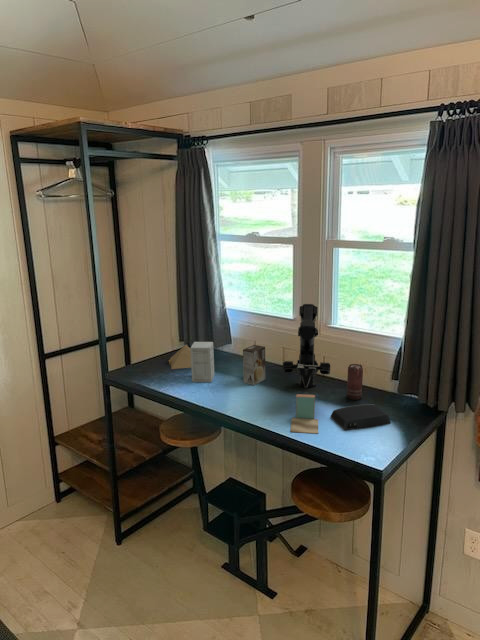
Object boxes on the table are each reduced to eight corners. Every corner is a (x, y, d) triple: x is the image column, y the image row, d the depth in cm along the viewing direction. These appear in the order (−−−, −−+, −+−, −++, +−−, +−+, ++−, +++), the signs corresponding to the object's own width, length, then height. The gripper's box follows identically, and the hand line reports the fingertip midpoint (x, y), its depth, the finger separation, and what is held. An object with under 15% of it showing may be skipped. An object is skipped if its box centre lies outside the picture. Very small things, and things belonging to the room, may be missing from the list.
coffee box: (254, 376, 233) (254, 344, 229) (265, 379, 229) (265, 346, 225) (243, 382, 226) (242, 349, 222) (254, 385, 222) (254, 351, 218)
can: (351, 401, 205) (352, 369, 201) (344, 395, 210) (345, 364, 207) (364, 399, 206) (366, 367, 202) (357, 393, 212) (358, 362, 208)
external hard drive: (329, 417, 192) (329, 407, 190) (373, 410, 196) (374, 401, 195) (344, 432, 179) (345, 422, 178) (391, 425, 184) (392, 415, 183)
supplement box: (214, 375, 235) (214, 341, 231) (211, 382, 226) (210, 347, 222) (195, 374, 236) (193, 341, 232) (191, 382, 227) (190, 347, 223)
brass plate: (291, 418, 190) (291, 417, 190) (318, 420, 188) (318, 419, 188) (290, 432, 179) (290, 431, 179) (318, 433, 178) (318, 432, 178)
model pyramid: (168, 359, 260) (167, 341, 257) (200, 356, 263) (200, 338, 260) (169, 370, 244) (168, 350, 241) (204, 367, 247) (203, 348, 244)
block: (296, 415, 192) (296, 394, 190) (314, 416, 191) (314, 395, 189) (295, 418, 190) (296, 396, 188) (314, 419, 189) (314, 397, 187)
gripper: (329, 361, 208) (329, 396, 200) (284, 359, 210) (282, 394, 202) (330, 349, 198) (330, 385, 190) (283, 347, 201) (281, 383, 193)
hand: (305, 387), depth 194 cm, fingers closed
